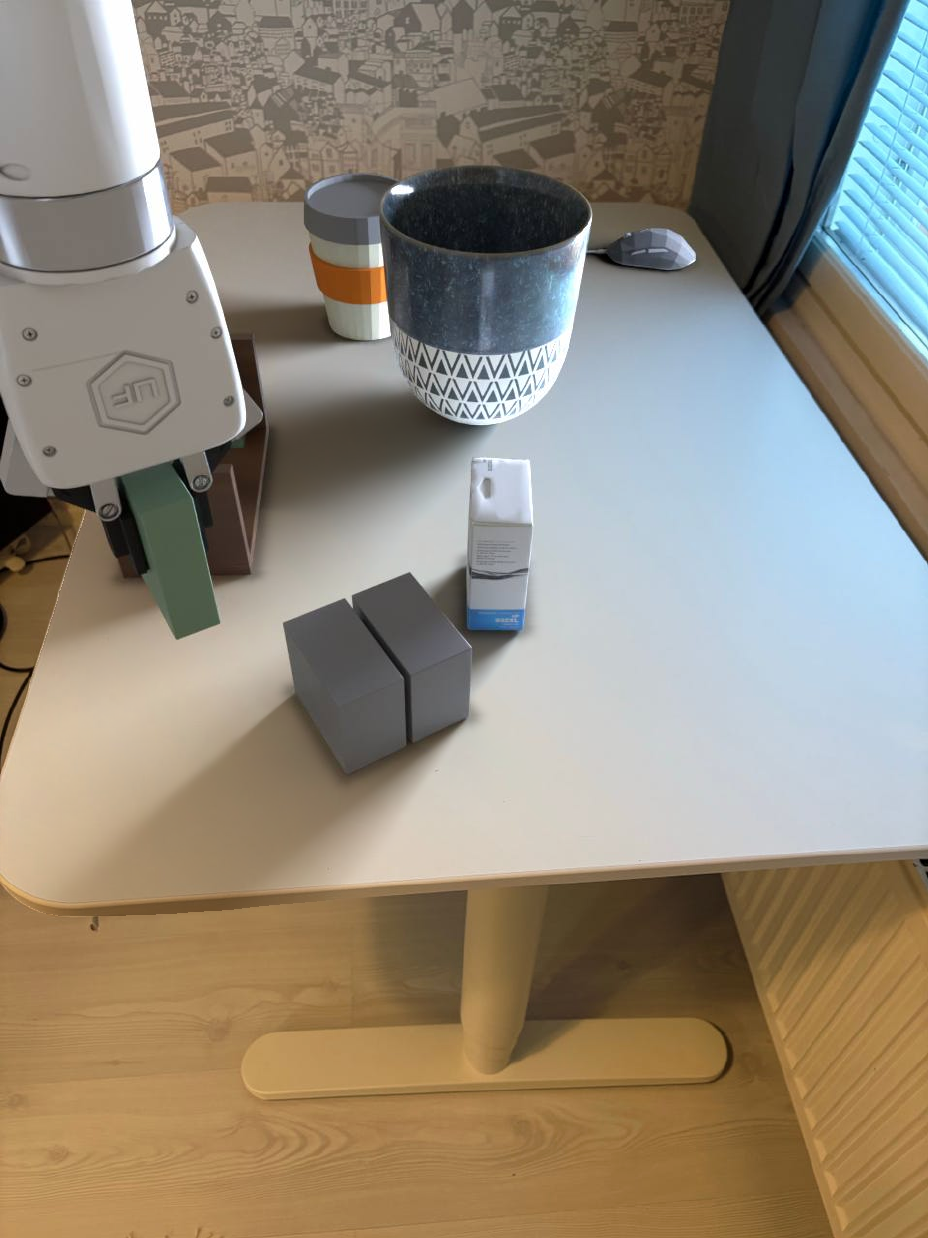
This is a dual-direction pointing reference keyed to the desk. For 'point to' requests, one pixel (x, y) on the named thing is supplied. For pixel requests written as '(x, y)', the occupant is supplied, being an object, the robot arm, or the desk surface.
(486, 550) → the ink box
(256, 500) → the book rack
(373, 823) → the desk surface
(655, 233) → the gaming mouse
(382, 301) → the reusable coffee cup
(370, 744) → the grey blocks
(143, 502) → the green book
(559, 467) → the desk surface
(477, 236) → the planter
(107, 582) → the desk surface
